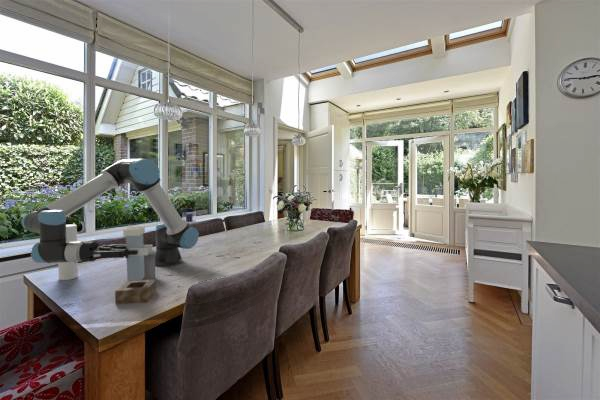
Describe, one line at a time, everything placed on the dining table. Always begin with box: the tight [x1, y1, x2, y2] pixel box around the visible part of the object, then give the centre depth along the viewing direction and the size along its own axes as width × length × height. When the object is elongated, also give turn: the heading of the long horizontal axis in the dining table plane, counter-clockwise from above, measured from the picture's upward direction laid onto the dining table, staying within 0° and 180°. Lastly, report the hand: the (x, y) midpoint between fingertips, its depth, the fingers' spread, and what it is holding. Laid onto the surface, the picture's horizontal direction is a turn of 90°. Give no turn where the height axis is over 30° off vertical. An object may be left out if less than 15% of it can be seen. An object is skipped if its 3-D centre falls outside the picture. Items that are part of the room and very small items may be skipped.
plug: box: [122, 226, 146, 281], centre depth 111 cm, size 6×6×20 cm
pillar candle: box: [142, 249, 156, 280], centre depth 134 cm, size 10×10×15 cm
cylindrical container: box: [57, 224, 79, 281], centre depth 135 cm, size 7×7×25 cm
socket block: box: [114, 279, 157, 305], centre depth 113 cm, size 11×11×6 cm
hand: (149, 249), depth 112 cm, fingers closed on plug, 5 cm apart
